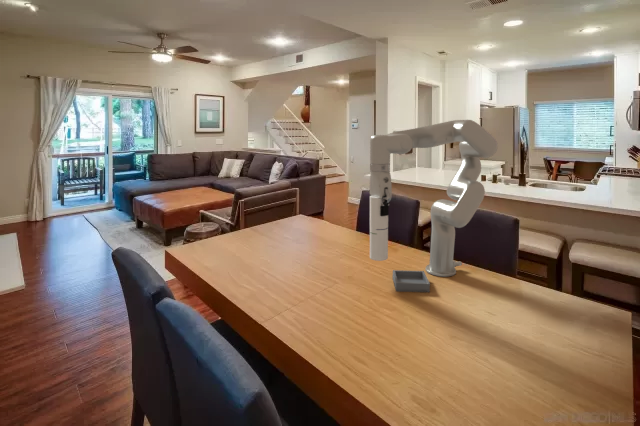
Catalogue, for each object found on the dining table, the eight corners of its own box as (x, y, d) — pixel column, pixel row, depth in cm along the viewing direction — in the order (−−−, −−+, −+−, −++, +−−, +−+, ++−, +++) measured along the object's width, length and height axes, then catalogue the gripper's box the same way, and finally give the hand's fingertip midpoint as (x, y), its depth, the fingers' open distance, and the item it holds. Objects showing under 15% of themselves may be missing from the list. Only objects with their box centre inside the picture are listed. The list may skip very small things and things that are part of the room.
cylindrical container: (387, 261, 141) (388, 198, 136) (369, 260, 143) (369, 198, 137) (387, 254, 148) (388, 194, 142) (370, 254, 149) (370, 194, 144)
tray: (423, 278, 150) (423, 271, 149) (429, 292, 138) (429, 283, 137) (392, 278, 151) (392, 270, 150) (395, 291, 139) (396, 282, 138)
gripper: (400, 169, 130) (399, 217, 134) (378, 165, 146) (377, 208, 150) (382, 171, 128) (381, 219, 132) (361, 166, 144) (361, 209, 148)
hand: (379, 213), depth 141 cm, fingers closed on cylindrical container, 7 cm apart
